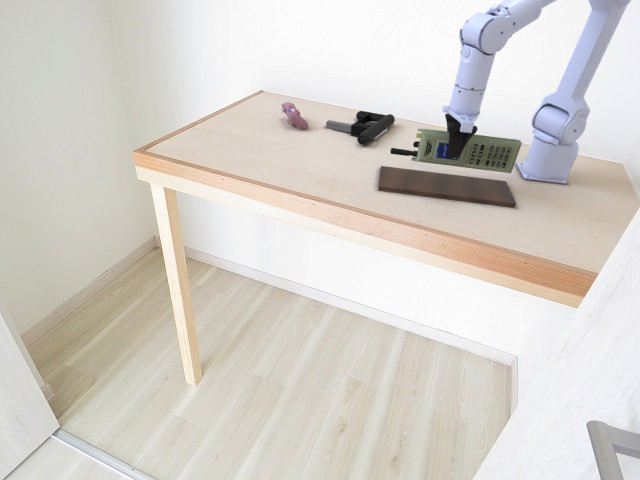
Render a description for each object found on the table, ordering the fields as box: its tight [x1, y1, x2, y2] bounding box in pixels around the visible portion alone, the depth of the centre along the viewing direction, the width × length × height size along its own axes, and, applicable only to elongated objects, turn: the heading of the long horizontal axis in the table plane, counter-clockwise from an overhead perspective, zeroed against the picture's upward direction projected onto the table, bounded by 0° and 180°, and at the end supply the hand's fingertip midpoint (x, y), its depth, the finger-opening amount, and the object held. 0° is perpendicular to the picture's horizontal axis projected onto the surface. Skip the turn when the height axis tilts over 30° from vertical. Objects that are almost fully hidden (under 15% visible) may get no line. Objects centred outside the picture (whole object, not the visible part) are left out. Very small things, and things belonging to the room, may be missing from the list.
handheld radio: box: [389, 127, 523, 174], centre depth 86 cm, size 7×3×25 cm
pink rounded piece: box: [280, 100, 309, 130], centre depth 115 cm, size 10×5×7 cm, turn 17°
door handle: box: [325, 110, 396, 146], centre depth 114 cm, size 3×20×16 cm
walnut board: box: [377, 165, 517, 209], centre depth 90 cm, size 28×10×1 cm, turn 81°
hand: (452, 153), depth 86 cm, fingers closed on handheld radio, 3 cm apart
